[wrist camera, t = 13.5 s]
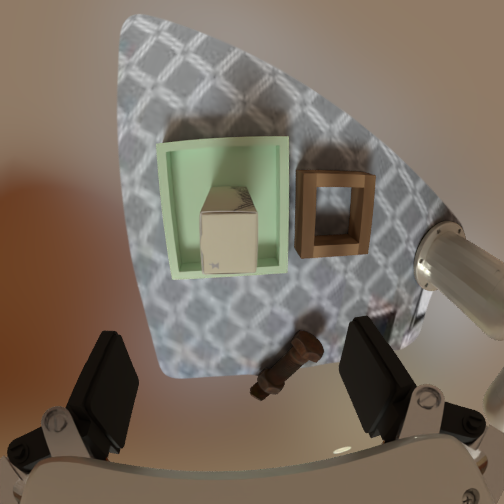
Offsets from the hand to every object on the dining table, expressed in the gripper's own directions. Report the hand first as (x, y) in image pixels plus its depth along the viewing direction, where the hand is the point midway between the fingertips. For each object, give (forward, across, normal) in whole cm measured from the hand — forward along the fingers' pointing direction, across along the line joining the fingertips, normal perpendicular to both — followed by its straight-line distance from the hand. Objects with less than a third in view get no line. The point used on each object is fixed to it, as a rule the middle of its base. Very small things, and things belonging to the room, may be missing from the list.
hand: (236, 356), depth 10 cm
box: (+24, 0, 0) cm, 24 cm away
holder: (+24, -13, +1) cm, 27 cm away
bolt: (+25, -7, +26) cm, 37 cm away
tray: (+24, 0, 0) cm, 24 cm away
